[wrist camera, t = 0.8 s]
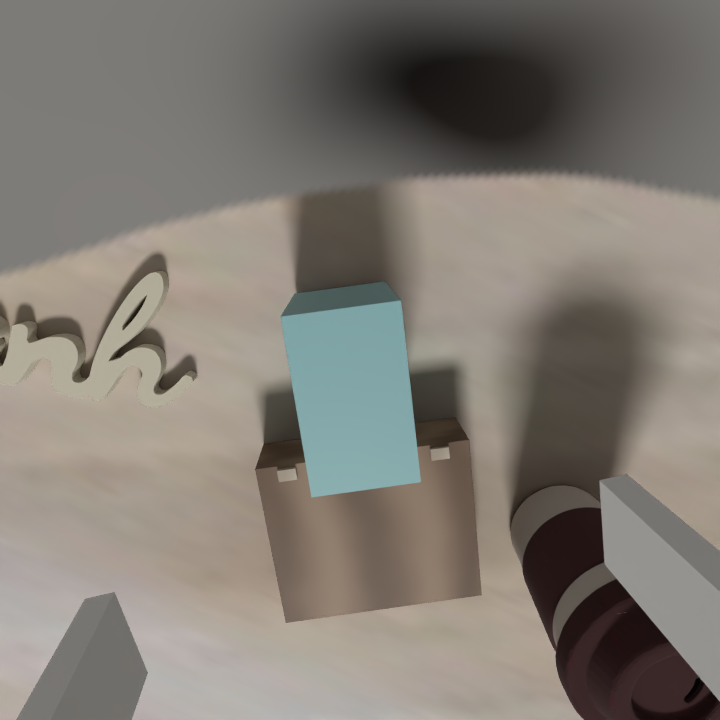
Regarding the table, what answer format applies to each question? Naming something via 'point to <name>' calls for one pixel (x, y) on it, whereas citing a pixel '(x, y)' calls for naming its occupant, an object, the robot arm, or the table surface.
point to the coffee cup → (599, 618)
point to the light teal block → (352, 388)
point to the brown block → (373, 531)
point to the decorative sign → (106, 367)
